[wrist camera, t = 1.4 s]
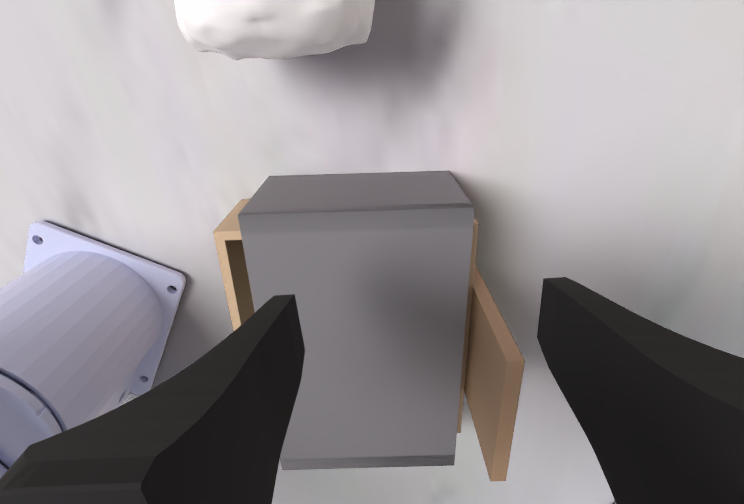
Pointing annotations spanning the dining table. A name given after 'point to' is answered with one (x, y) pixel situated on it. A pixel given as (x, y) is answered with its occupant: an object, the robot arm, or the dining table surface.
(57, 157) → the dining table surface
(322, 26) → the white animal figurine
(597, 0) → the dining table surface
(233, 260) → the mailer tray
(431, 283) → the mailer sleeve
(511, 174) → the dining table surface
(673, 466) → the robot arm
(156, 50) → the dining table surface
